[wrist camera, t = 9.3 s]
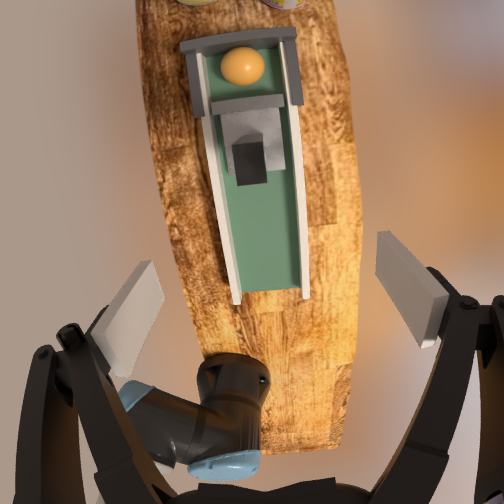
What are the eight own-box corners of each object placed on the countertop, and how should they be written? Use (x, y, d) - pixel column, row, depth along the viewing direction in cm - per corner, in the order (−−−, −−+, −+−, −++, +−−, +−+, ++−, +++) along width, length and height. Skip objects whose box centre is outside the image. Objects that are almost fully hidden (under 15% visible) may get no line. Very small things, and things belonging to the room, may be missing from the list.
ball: (256, 78, 31) (258, 97, 29) (217, 70, 30) (215, 89, 28) (268, 46, 27) (272, 62, 25) (226, 37, 26) (225, 52, 23)
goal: (298, 106, 33) (306, 104, 27) (202, 117, 34) (189, 118, 28) (289, 42, 29) (295, 26, 22) (194, 54, 30) (179, 42, 24)
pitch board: (306, 281, 44) (309, 298, 40) (236, 287, 45) (233, 304, 41) (283, 37, 28) (286, 27, 24) (198, 48, 29) (190, 40, 25)
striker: (288, 167, 35) (301, 194, 23) (226, 174, 36) (207, 204, 24) (281, 96, 31) (290, 84, 19) (215, 104, 32) (190, 97, 20)
